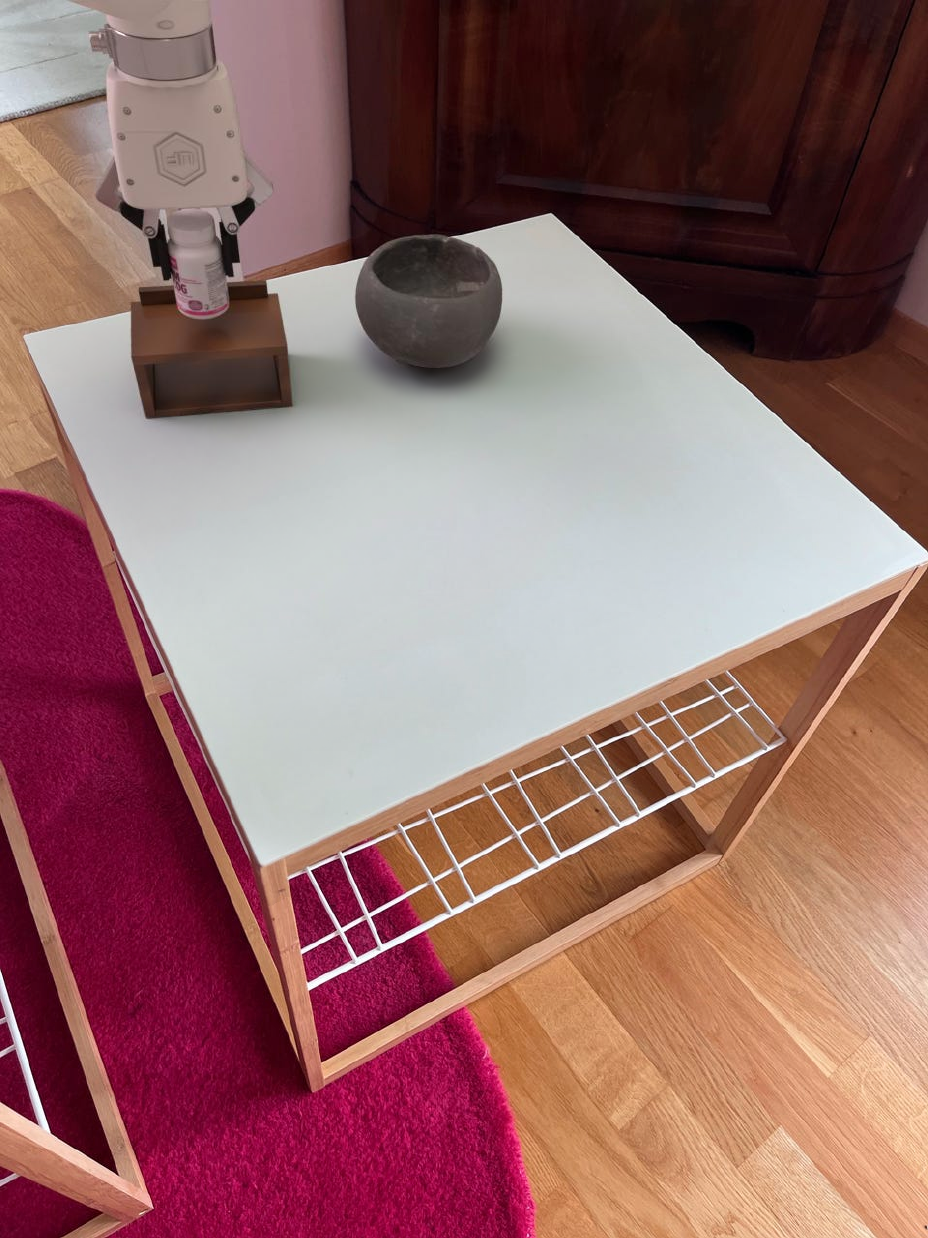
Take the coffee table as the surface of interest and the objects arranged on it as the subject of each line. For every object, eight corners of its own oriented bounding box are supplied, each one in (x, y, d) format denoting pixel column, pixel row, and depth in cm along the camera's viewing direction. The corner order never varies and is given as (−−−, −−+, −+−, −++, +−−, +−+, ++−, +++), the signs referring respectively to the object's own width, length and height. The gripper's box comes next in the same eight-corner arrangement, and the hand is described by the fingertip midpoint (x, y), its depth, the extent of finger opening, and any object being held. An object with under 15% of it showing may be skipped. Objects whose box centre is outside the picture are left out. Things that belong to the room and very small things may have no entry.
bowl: (383, 301, 107) (383, 215, 99) (510, 329, 105) (521, 244, 97) (335, 374, 97) (331, 286, 90) (474, 407, 95) (483, 319, 88)
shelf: (145, 418, 91) (127, 341, 84) (144, 363, 96) (127, 287, 90) (292, 406, 94) (286, 331, 87) (283, 353, 99) (276, 278, 93)
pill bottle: (166, 310, 87) (149, 222, 81) (199, 287, 90) (185, 200, 84) (208, 326, 86) (195, 238, 80) (240, 302, 89) (229, 215, 83)
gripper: (42, 68, 68) (99, 299, 81) (282, 66, 71) (297, 288, 85) (47, 30, 72) (100, 254, 86) (273, 29, 76) (288, 245, 89)
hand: (198, 268), depth 85 cm, fingers closed on pill bottle, 4 cm apart
